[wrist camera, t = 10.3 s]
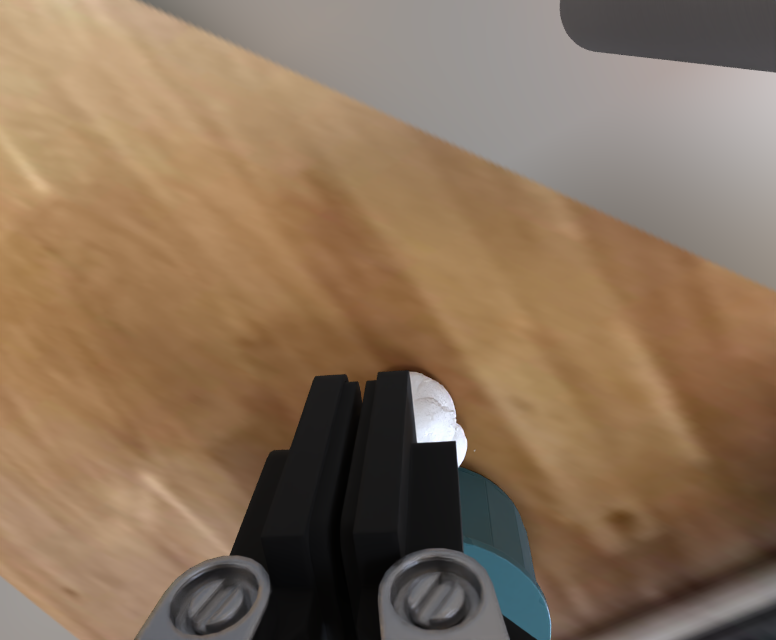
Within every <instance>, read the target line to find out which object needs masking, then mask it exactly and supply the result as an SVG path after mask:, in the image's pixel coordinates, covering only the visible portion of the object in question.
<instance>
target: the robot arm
mask: <svg viewBox="0 0 776 640" xmlns="http://www.w3.org/2000/svg"><path fill="white" fill-rule="evenodd" d="M134 640H537V639H536V638H534V637H533V636H531V635H530V634H529V633H527V632H526V631H525V630H523V629H522V628H521V627H519V626H518V625H516V624H515V623H514V622H512V621H511V620H510V619H508V618H507V617H505V616H504V615H503V614H502V612H501V609H500V606H499V602H498V599H497V596H496V593H495V589H494V586H493V583H492V581H491V579H490V577H489V575H488V573H487V571H486V569H485V568H484V567H483V566H482V565H480V564H479V563H478V562H477V561H476V560H475V559H474V558H472V557H470V556H468V555H466V554H464V547H463V531H462V516H461V502H460V488H459V474H458V461H457V448H456V441H442V442H423V443H417V436H416V427H415V418H414V408H413V399H412V389H411V380H410V373H409V370H404V371H389V372H378V375H377V380H373V381H367V382H366V386H365V392H364V397H363V403H362V398H361V391H360V386H359V383H358V381H357V382H349V381H348V377H347V375H346V374H342V375H327V376H315V378H314V380H313V382H312V385H311V388H310V391H309V394H308V397H307V400H306V403H305V406H304V409H303V412H302V415H301V418H300V421H299V424H298V427H297V430H296V433H295V436H294V439H293V442H292V445H291V448H290V450H273V451H272V452H270V454H269V455H268V457H267V460H266V462H265V465H264V467H263V470H262V473H261V475H260V478H259V480H258V483H257V486H256V488H255V491H254V493H253V496H252V499H251V501H250V504H249V506H248V509H247V512H246V514H245V517H244V519H243V522H242V525H241V527H240V530H239V532H238V535H237V538H236V540H235V543H234V545H233V548H232V551H231V553H230V556H221V557H217V558H213V559H209V560H206V561H204V562H202V563H200V564H198V565H196V566H194V567H192V568H190V569H188V570H187V571H186V572H184V573H183V574H182V575H181V576H179V577H178V578H177V579H175V581H174V582H173V583H172V584H171V585H170V587H169V588H168V589H167V590H166V591H165V593H164V594H163V596H162V597H161V599H160V600H159V602H158V603H157V605H156V606H155V608H154V610H153V611H152V613H151V614H150V616H149V617H148V619H147V620H146V622H145V623H144V625H143V626H142V628H141V630H140V631H139V633H138V634H137V636H136V637H135V639H134Z"/></svg>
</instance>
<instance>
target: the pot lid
mask: <svg viewBox="0 0 776 640" xmlns="http://www.w3.org/2000/svg"><path fill="white" fill-rule="evenodd" d="M463 547H464V554H466V555H468V556H470V557H472V558H474V559H475V560H476V561H477V562H478V563H479V564H480V565H482V566H483V567H484V568H485V569H486V571H487V573H488V575H489V577H490V579H491V581H492V583H493V586H494V589H495V593H496V596H497V599H498V602H499V606H500V609H501V612H502V614H503V615H504V616H505V617H507V618H508V619H510V620H511V621H512V622H514V623H515V624H516V625H518V626H519V627H521V628H522V629H523V630H525V631H526V632H527V633H529V634H530V635H531V636H533V637H534V638H536V639H537V640H550V638H551V619H550V614H549V608H548V605H547V602H546V599H545V596H544V594H543V592H542V591H541V589H540V587H539V585H538V584H537V582H536V581H535V580H534V578H533V577H532V576H531V575H530V574H529V572H528V571H527V570H526V569H525V568H523V567H522V566H521V565H520V564H519V563H518V562H517V561H515V560H514V559H513V558H511V557H510V556H508V555H507V554H505V553H504V552H502V551H500V550H498V549H496V548H494V547H493V546H491V545H488V544H486V543H483V542H481V541H478V540H476V539H472V538H469V537H465V536H463Z"/></svg>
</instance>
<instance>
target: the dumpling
mask: <svg viewBox="0 0 776 640" xmlns="http://www.w3.org/2000/svg"><path fill="white" fill-rule="evenodd" d="M409 373H410V380H411V389H412V399H413V408H414V418H415V427H416V436H417V443H423V442H442V441H456V448H457V461H458V467H459V466H460V464H461V463H462V461H463V460H464V457H465V454H466V450H467V439H466V437H465V434H464V431H463V429H462V428H461V426H460V425H459V424H457V423H456V421H457V420H456V419H455V418H456V414H455V413H456V412H455V411H456V410H455V409H454V408H455V406H454V404H453V401H452V399H451V396H450V395H449V393H448V392H447V391H446V389H445V388H444V387H443V385H440V384H439V382H437V381H435V380H432V379H431V378H429V377H426V376H425V375H423V374H422V373H418V372H410V371H409ZM474 451H475V450H474Z"/></svg>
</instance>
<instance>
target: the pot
mask: <svg viewBox="0 0 776 640" xmlns="http://www.w3.org/2000/svg"><path fill="white" fill-rule="evenodd" d="M458 474H459V488H460V502H461V516H462V531H463V536H465V537H469V538H472V539H476V540H478V541H481V542H483V543H486V544H488V545H491V546H493V547H494V548H496V549H498V550H500V551H502V552H504V553H505V554H507V555H508V556H510V557H511V558H513V559H514V560H515V561H517V562H518V563H519V564H520V565H521V566H522V567H523V568H525V569H526V570H527V571H528V572H529V574H530V575H531V576H532V577H533V578H534V580H535V581H536V579H535V573H534V568H533V563H532V558H531V553H530V547H529V542H528V537H527V532H526V530H525V528H524V525H523V522H522V520H521V517H520V514H519V512H518V510H517V509H516V507H515V505H514V503H513V502H512V501H511V500H510V498H509V497H508V496H507V495H506V494H505V493H504V492H503V491H502V490H501V489H500V488H499V487H498V486H497V485H495V484H494V483H492V482H491V481H490V480H488V479H487V478H485V477H483V476H481V475H479V474H478V473H475V472H473V471H470V470H468V469H466V468H462V467H458Z"/></svg>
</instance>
